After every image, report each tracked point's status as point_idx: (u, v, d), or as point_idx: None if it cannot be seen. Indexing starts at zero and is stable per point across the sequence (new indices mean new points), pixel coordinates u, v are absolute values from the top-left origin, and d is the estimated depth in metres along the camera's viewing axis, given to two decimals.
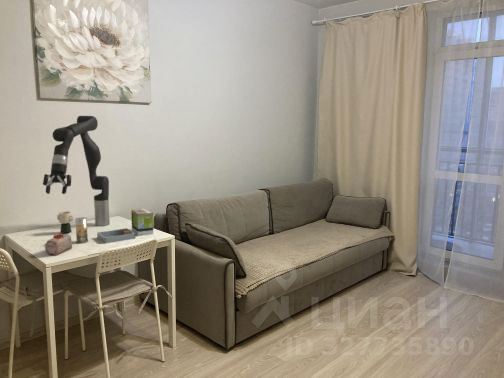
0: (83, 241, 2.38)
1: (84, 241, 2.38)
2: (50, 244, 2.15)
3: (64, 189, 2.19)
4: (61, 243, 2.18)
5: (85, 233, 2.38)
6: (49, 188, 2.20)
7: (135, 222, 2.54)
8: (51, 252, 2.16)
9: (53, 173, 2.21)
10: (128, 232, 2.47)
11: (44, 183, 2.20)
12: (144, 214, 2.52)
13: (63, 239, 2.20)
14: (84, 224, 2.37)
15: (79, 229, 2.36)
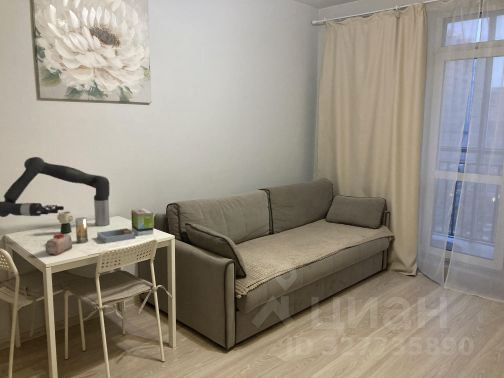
0: (83, 241, 2.38)
1: (84, 241, 2.38)
2: (50, 244, 2.15)
3: (53, 212, 2.32)
4: (62, 243, 2.18)
5: (85, 233, 2.38)
6: (58, 207, 2.40)
7: (135, 222, 2.54)
8: (51, 252, 2.16)
9: None
10: (128, 232, 2.47)
11: (55, 209, 2.43)
12: (144, 214, 2.52)
13: (63, 239, 2.20)
14: (84, 224, 2.37)
15: (79, 229, 2.36)
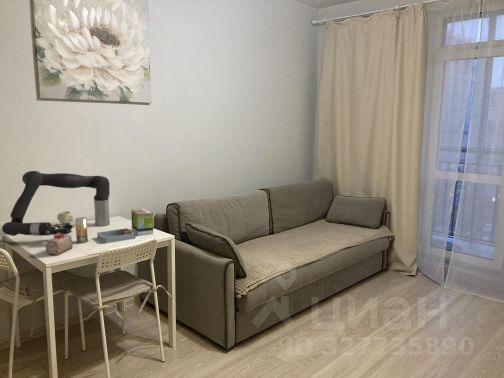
0: (83, 241, 2.38)
1: (84, 241, 2.38)
2: (51, 244, 2.15)
3: (62, 232, 2.34)
4: (62, 243, 2.18)
5: (85, 233, 2.38)
6: (67, 226, 2.43)
7: (135, 222, 2.54)
8: (52, 252, 2.16)
9: None
10: (128, 232, 2.47)
11: None
12: (144, 214, 2.52)
13: (64, 239, 2.20)
14: (84, 224, 2.37)
15: (79, 229, 2.36)
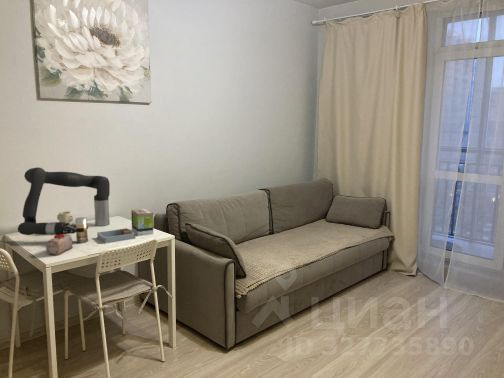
0: (83, 241, 2.38)
1: (84, 241, 2.39)
2: (51, 244, 2.15)
3: (79, 231, 2.36)
4: (62, 243, 2.18)
5: (85, 233, 2.38)
6: None
7: (135, 222, 2.54)
8: (52, 252, 2.16)
9: None
10: (128, 232, 2.47)
11: None
12: (144, 214, 2.52)
13: (64, 239, 2.20)
14: (84, 224, 2.37)
15: None
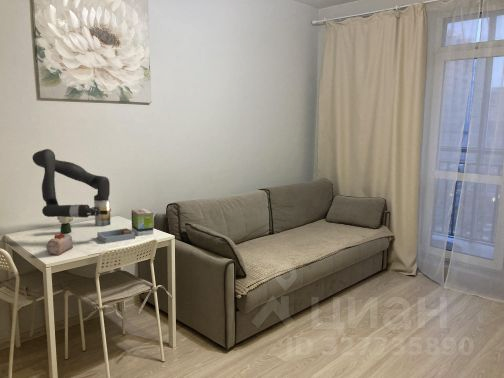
0: (106, 224, 2.40)
1: (107, 223, 2.40)
2: (52, 244, 2.15)
3: (103, 214, 2.38)
4: (63, 243, 2.19)
5: (108, 216, 2.40)
6: None
7: (135, 222, 2.54)
8: (53, 252, 2.16)
9: None
10: (128, 232, 2.47)
11: None
12: (144, 214, 2.52)
13: (64, 239, 2.20)
14: (107, 207, 2.39)
15: None
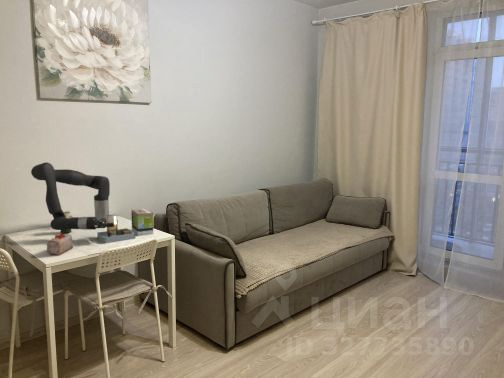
0: None
1: None
2: (52, 244, 2.15)
3: (109, 226, 2.39)
4: (63, 243, 2.19)
5: (116, 230, 2.43)
6: None
7: (135, 222, 2.54)
8: (53, 252, 2.16)
9: None
10: (128, 232, 2.47)
11: None
12: (144, 214, 2.52)
13: (65, 239, 2.21)
14: (115, 221, 2.42)
15: None
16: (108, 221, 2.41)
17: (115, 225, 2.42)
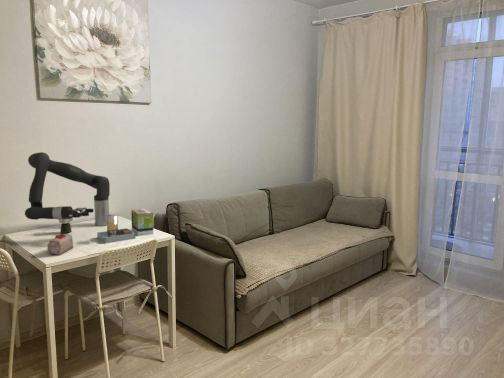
0: None
1: None
2: (53, 244, 2.15)
3: (84, 215, 2.37)
4: (64, 243, 2.19)
5: (116, 230, 2.43)
6: (88, 210, 2.46)
7: (135, 222, 2.54)
8: (54, 252, 2.16)
9: None
10: (128, 232, 2.47)
11: (85, 211, 2.48)
12: (144, 214, 2.52)
13: (65, 239, 2.21)
14: (115, 221, 2.42)
15: (110, 225, 2.41)
16: (108, 221, 2.41)
17: (115, 225, 2.42)
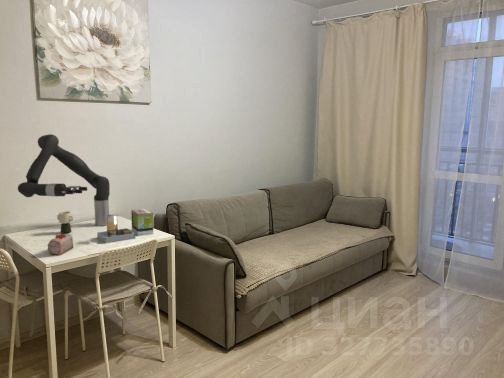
0: None
1: None
2: (53, 244, 2.15)
3: (77, 192, 2.35)
4: (64, 243, 2.19)
5: (116, 230, 2.43)
6: (81, 188, 2.44)
7: (135, 222, 2.54)
8: (54, 252, 2.16)
9: None
10: (128, 232, 2.47)
11: None
12: (144, 214, 2.52)
13: (65, 239, 2.21)
14: (115, 221, 2.42)
15: (110, 226, 2.41)
16: (108, 221, 2.40)
17: (115, 225, 2.42)
